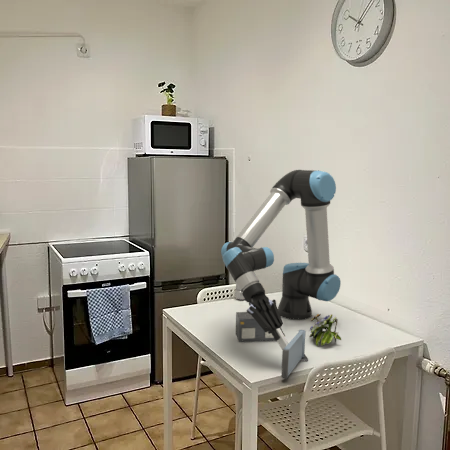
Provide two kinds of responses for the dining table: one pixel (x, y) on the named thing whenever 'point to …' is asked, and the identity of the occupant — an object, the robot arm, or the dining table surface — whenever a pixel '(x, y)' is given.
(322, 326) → the passion flower
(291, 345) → the blue-grey flat panel
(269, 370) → the dining table surface
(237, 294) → the plastic bottle
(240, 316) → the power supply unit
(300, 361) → the arm mount
